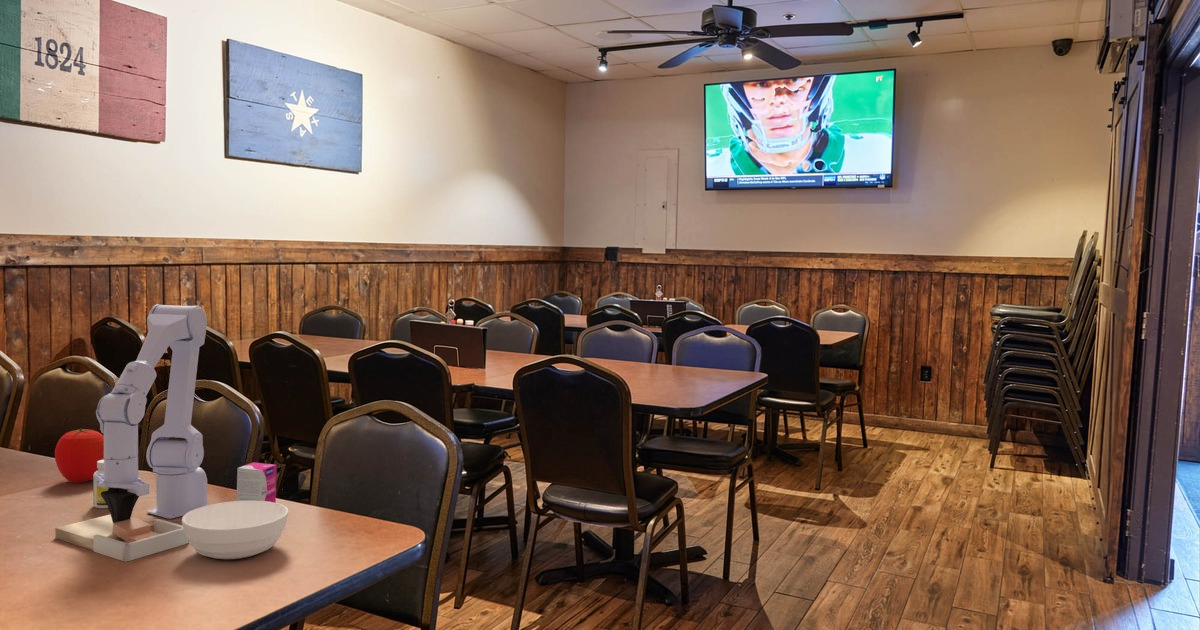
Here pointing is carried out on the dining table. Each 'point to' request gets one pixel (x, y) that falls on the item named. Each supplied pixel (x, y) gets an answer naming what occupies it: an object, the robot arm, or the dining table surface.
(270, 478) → the supplement box
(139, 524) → the tile
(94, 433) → the tomato
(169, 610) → the dining table surface
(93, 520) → the plate
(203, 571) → the dining table surface
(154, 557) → the dining table surface
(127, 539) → the tile
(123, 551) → the tray
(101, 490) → the supplement bottle
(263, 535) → the bowl
